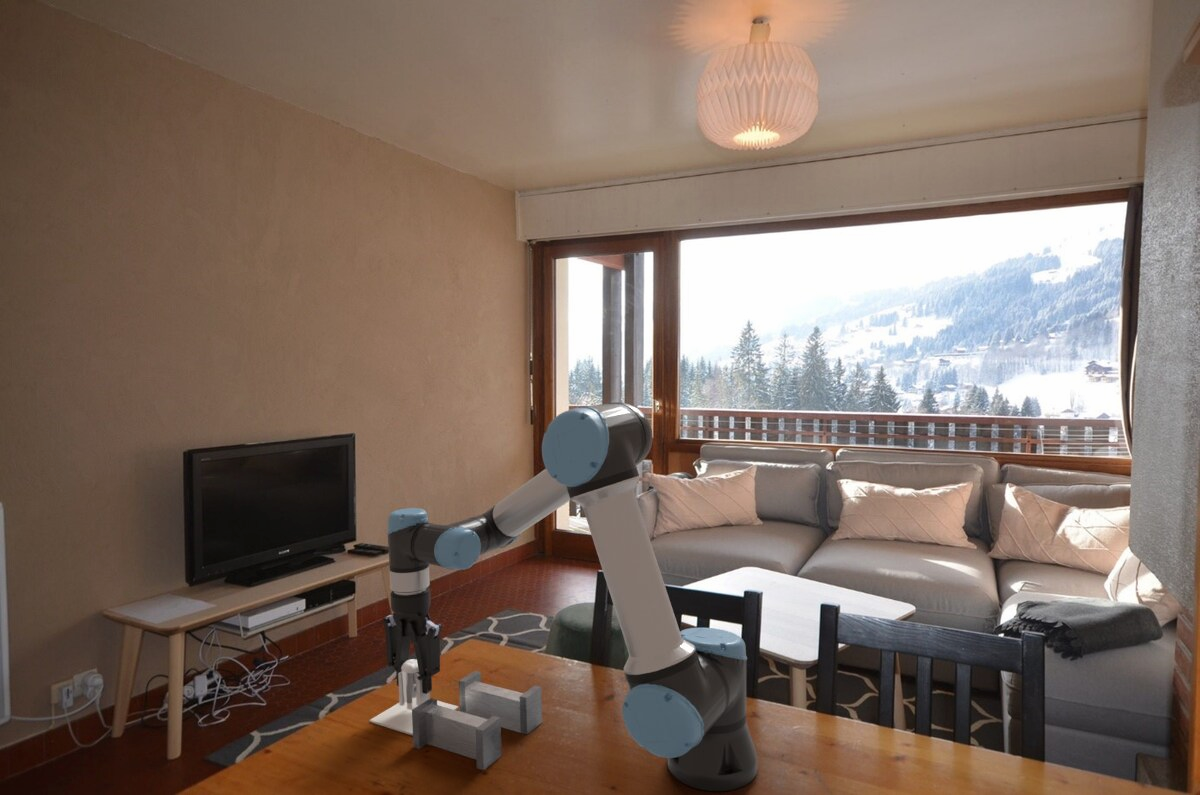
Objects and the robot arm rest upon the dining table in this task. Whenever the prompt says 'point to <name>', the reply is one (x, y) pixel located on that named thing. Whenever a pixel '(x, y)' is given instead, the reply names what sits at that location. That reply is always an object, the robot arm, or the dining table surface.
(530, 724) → the brackets
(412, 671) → the milkshake
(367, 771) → the dining table surface
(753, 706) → the dining table surface
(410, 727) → the pad
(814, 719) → the dining table surface
